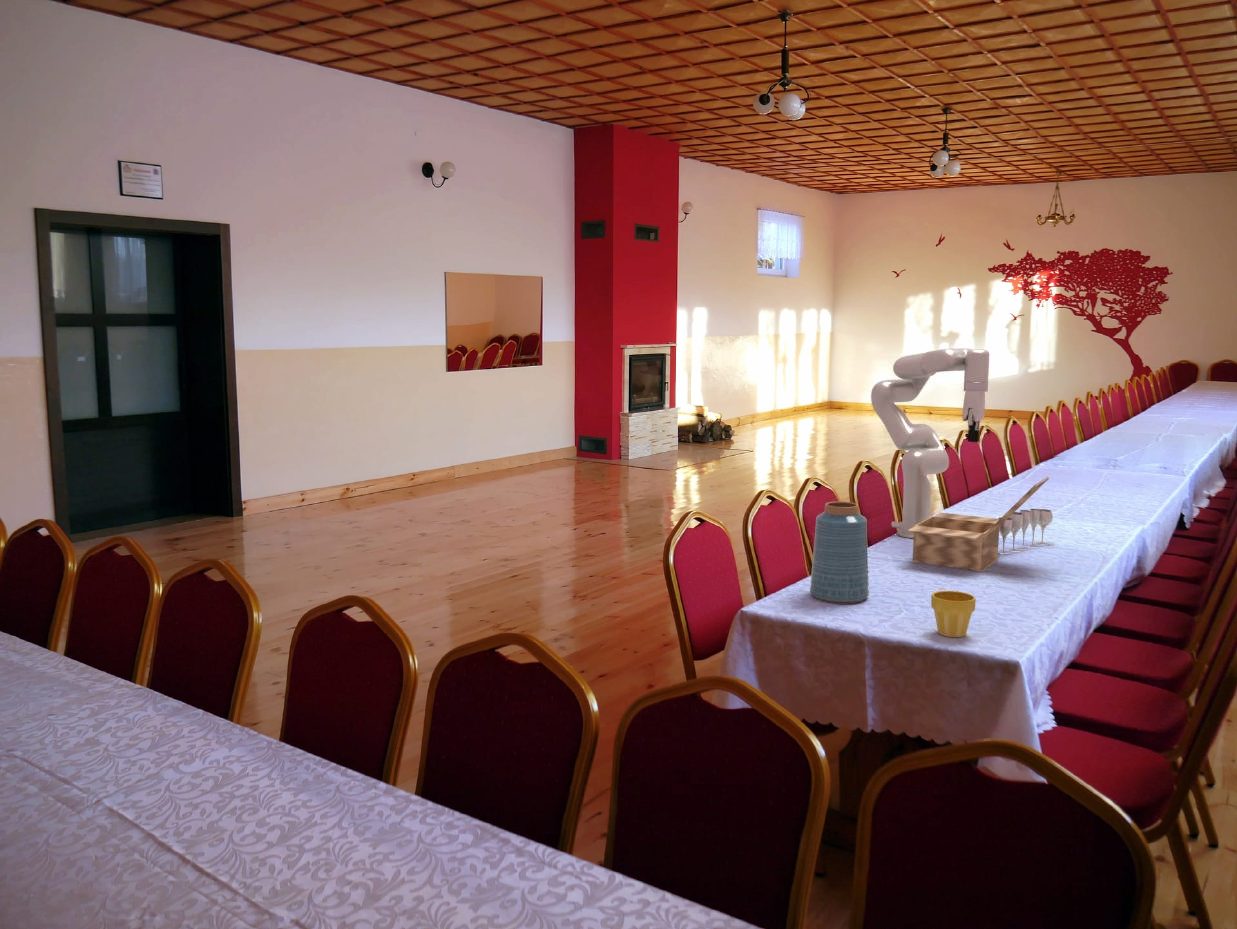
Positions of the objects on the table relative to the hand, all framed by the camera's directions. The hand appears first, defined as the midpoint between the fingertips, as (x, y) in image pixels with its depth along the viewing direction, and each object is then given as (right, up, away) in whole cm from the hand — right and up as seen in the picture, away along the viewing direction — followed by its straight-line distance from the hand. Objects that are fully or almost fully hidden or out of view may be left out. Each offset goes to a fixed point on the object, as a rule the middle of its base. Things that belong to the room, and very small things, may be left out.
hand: (973, 441), depth 324 cm
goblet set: (+20, -37, +7) cm, 42 cm away
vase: (-56, -45, -50) cm, 88 cm away
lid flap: (+5, -20, -23) cm, 31 cm away
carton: (-9, -39, -10) cm, 41 cm away
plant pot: (-36, -50, -82) cm, 103 cm away
